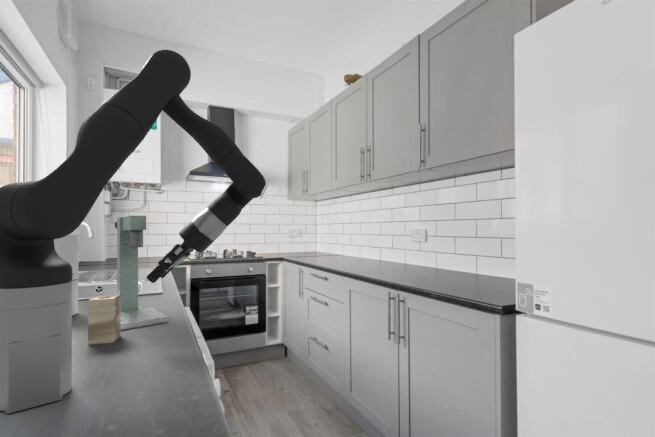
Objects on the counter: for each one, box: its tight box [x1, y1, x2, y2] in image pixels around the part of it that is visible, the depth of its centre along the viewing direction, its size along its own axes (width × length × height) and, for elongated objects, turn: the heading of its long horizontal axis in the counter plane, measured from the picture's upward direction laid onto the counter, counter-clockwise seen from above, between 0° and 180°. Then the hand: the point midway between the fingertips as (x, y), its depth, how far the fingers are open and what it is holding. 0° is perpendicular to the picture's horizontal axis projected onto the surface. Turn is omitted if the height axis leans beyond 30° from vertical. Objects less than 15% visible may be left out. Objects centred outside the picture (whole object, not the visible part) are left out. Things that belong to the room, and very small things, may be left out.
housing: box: [87, 294, 121, 346], centre depth 82 cm, size 5×5×10 cm
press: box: [114, 215, 169, 331], centre depth 106 cm, size 33×12×30 cm, turn 41°
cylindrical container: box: [54, 234, 80, 316], centre depth 109 cm, size 7×7×25 cm
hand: (154, 278), depth 84 cm, fingers open, 8 cm apart
